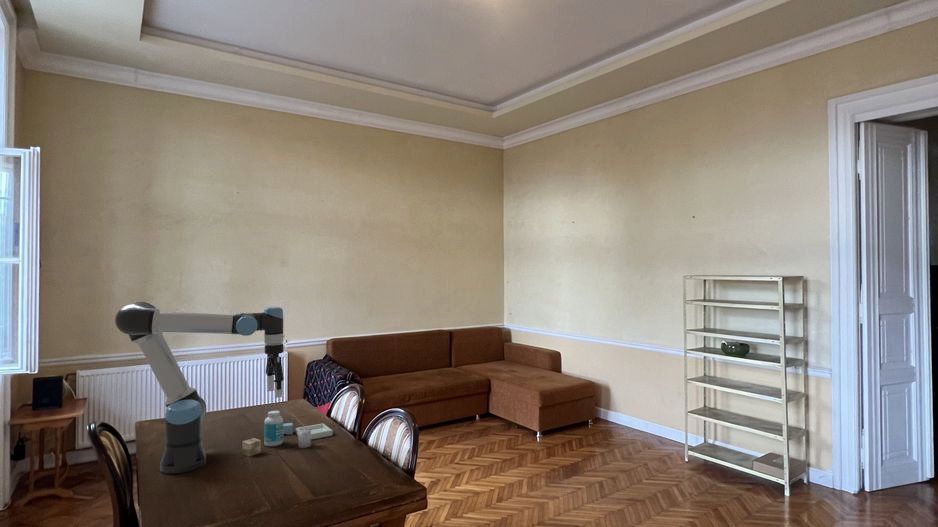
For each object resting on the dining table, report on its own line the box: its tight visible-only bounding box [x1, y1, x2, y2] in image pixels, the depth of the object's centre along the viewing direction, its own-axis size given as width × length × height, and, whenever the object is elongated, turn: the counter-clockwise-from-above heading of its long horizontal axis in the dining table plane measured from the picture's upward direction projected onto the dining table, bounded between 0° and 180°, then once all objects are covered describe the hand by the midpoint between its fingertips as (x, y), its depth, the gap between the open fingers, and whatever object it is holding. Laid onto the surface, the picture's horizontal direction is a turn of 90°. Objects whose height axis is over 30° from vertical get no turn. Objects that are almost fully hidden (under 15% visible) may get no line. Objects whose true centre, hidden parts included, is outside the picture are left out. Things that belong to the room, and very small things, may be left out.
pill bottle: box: [263, 410, 284, 447], centre depth 215 cm, size 8×7×14 cm
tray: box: [295, 422, 334, 440], centre depth 228 cm, size 13×13×2 cm
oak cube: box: [241, 437, 262, 457], centre depth 204 cm, size 5×5×5 cm
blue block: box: [283, 422, 294, 436], centre depth 229 cm, size 6×4×4 cm, turn 109°
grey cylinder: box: [297, 430, 312, 449], centre depth 212 cm, size 5×5×6 cm
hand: (274, 394), depth 215 cm, fingers open, 13 cm apart
